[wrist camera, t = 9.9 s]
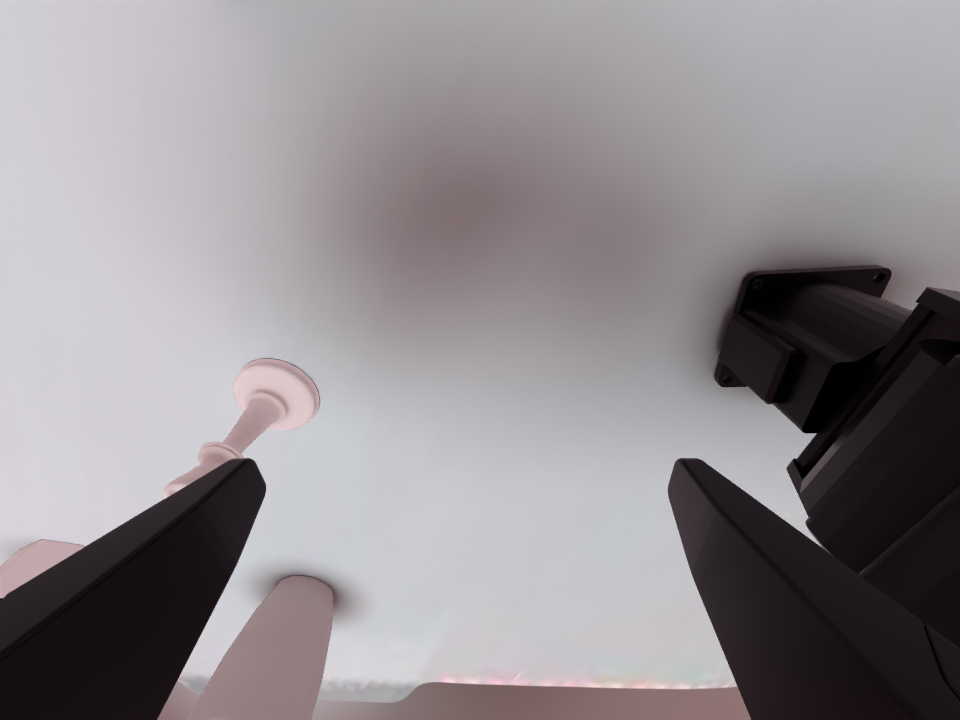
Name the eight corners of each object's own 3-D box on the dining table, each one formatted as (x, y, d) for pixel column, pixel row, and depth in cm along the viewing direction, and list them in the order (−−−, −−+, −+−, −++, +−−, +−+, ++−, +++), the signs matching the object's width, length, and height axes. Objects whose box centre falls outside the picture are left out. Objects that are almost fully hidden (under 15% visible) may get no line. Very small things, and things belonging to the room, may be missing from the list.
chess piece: (274, 432, 25) (155, 589, 16) (220, 374, 22) (49, 519, 14) (335, 410, 23) (243, 565, 15) (285, 346, 21) (143, 484, 13)
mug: (-1, 541, 32) (-181, 686, 23) (89, 536, 31) (-64, 684, 23) (90, 615, 38) (-27, 752, 29) (167, 612, 37) (70, 752, 28)
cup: (242, 580, 34) (155, 731, 25) (307, 555, 31) (236, 711, 23) (305, 621, 37) (248, 767, 28) (368, 601, 35) (327, 753, 26)
